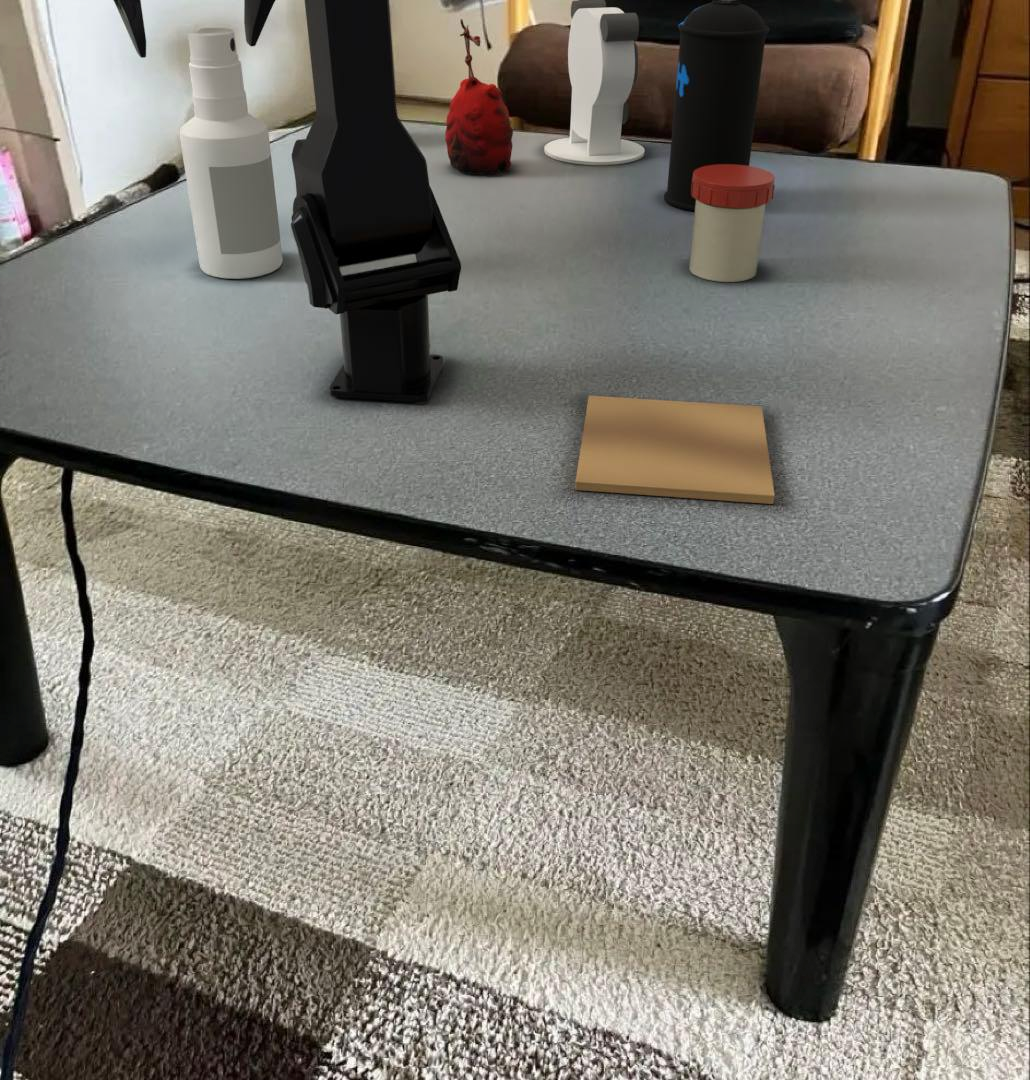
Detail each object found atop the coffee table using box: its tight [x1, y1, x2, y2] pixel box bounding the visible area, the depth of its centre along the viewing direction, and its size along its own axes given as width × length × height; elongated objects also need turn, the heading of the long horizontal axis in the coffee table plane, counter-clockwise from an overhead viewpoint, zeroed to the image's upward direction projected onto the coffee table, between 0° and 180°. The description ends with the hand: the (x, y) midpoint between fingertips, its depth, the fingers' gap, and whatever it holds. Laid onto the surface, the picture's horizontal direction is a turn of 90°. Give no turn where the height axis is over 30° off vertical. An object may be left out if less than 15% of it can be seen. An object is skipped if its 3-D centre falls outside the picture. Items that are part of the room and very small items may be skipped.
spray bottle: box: [179, 27, 284, 280], centre depth 86 cm, size 7×7×18 cm
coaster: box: [574, 395, 776, 505], centre depth 65 cm, size 11×11×1 cm
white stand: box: [543, 0, 646, 166], centre depth 119 cm, size 12×11×15 cm
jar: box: [688, 200, 767, 283], centre depth 89 cm, size 6×6×7 cm
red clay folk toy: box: [444, 18, 514, 175], centre depth 112 cm, size 8×7×15 cm
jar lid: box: [691, 164, 776, 208], centre depth 87 cm, size 6×6×2 cm
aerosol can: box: [663, 0, 770, 212], centre depth 102 cm, size 8×8×20 cm
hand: (197, 49), depth 89 cm, fingers open, 9 cm apart
